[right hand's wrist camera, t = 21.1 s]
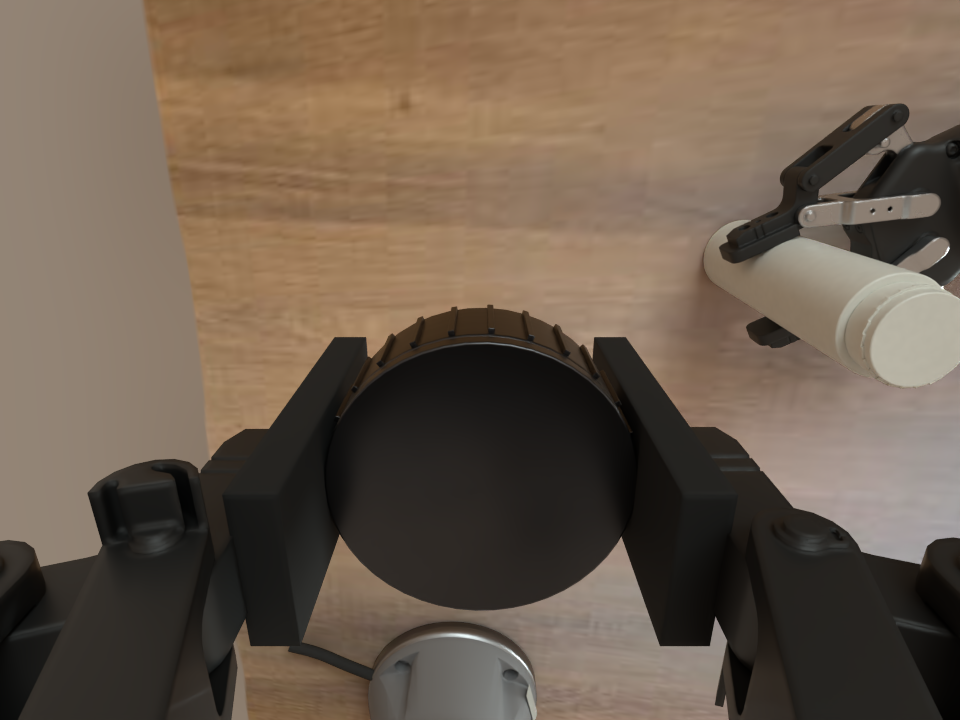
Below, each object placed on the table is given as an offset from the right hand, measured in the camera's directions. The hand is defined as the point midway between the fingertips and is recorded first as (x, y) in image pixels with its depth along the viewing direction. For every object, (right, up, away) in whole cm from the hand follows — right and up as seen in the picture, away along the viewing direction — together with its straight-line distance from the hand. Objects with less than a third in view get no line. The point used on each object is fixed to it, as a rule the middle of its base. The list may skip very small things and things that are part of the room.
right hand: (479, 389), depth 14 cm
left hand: (+15, +4, +20) cm, 26 cm away
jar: (+18, +8, +25) cm, 32 cm away
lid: (0, -1, -4) cm, 4 cm away
